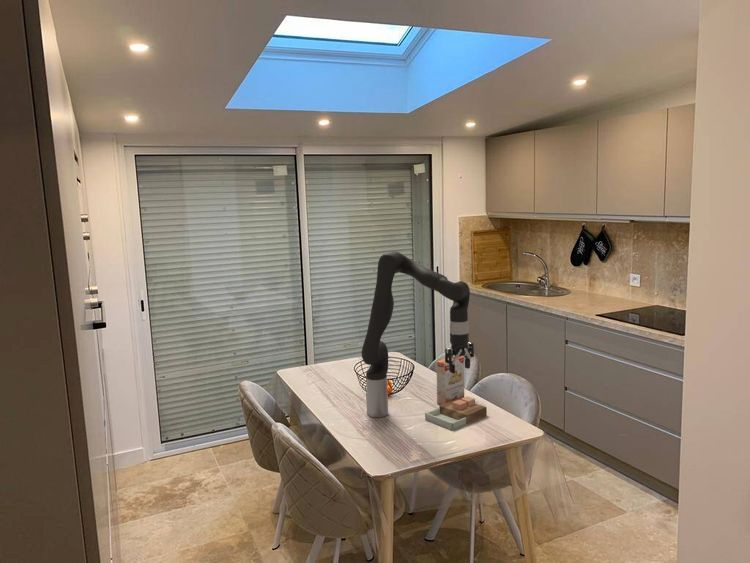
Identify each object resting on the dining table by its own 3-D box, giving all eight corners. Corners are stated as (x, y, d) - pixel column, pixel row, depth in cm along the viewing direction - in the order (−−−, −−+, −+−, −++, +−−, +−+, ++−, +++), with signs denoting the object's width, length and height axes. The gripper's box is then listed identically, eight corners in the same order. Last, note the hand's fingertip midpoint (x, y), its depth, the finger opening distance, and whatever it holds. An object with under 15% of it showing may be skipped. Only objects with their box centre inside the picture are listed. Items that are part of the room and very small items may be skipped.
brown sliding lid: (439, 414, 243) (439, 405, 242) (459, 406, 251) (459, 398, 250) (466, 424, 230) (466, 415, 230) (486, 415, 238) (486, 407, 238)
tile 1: (452, 407, 239) (452, 402, 239) (459, 404, 242) (459, 399, 241) (459, 410, 236) (459, 404, 235) (466, 407, 238) (466, 402, 238)
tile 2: (460, 404, 242) (460, 398, 242) (467, 401, 245) (467, 396, 245) (468, 406, 239) (468, 401, 239) (475, 404, 242) (475, 398, 241)
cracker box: (446, 407, 250) (445, 363, 248) (436, 404, 255) (435, 360, 252) (465, 398, 260) (464, 356, 257) (455, 396, 264) (454, 354, 261)
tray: (425, 419, 237) (424, 413, 237) (439, 414, 242) (438, 407, 242) (452, 430, 225) (452, 423, 224) (466, 424, 230) (466, 417, 230)
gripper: (464, 327, 225) (465, 364, 228) (439, 333, 217) (440, 372, 219) (478, 329, 219) (479, 368, 222) (453, 336, 211) (454, 376, 213)
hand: (460, 370), depth 220 cm, fingers open, 8 cm apart
